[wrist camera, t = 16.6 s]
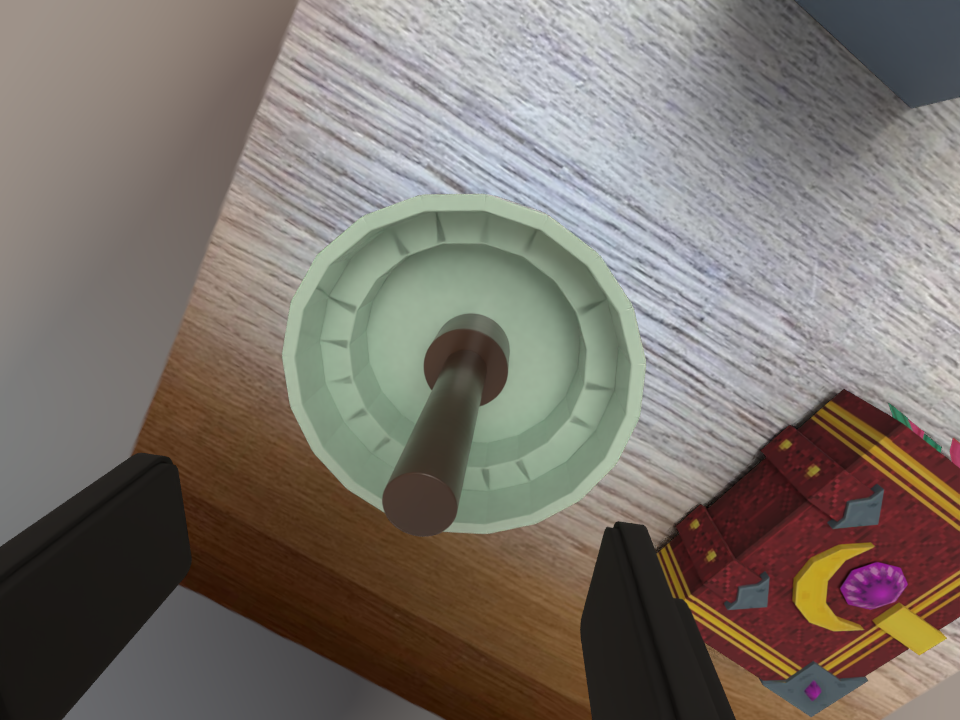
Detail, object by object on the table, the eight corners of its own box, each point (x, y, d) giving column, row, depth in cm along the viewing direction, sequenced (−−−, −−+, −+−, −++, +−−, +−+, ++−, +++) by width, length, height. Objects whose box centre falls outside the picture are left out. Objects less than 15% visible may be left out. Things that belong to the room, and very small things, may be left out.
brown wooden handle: (420, 356, 24) (317, 514, 12) (462, 297, 23) (394, 407, 11) (480, 398, 25) (440, 590, 13) (525, 343, 24) (527, 497, 11)
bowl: (291, 368, 26) (227, 414, 20) (434, 128, 21) (402, 101, 16) (502, 507, 28) (497, 584, 22) (678, 316, 23) (728, 353, 18)
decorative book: (638, 556, 28) (661, 626, 24) (854, 362, 23) (939, 404, 18) (771, 644, 30) (818, 728, 25) (1003, 481, 25) (1116, 547, 20)
